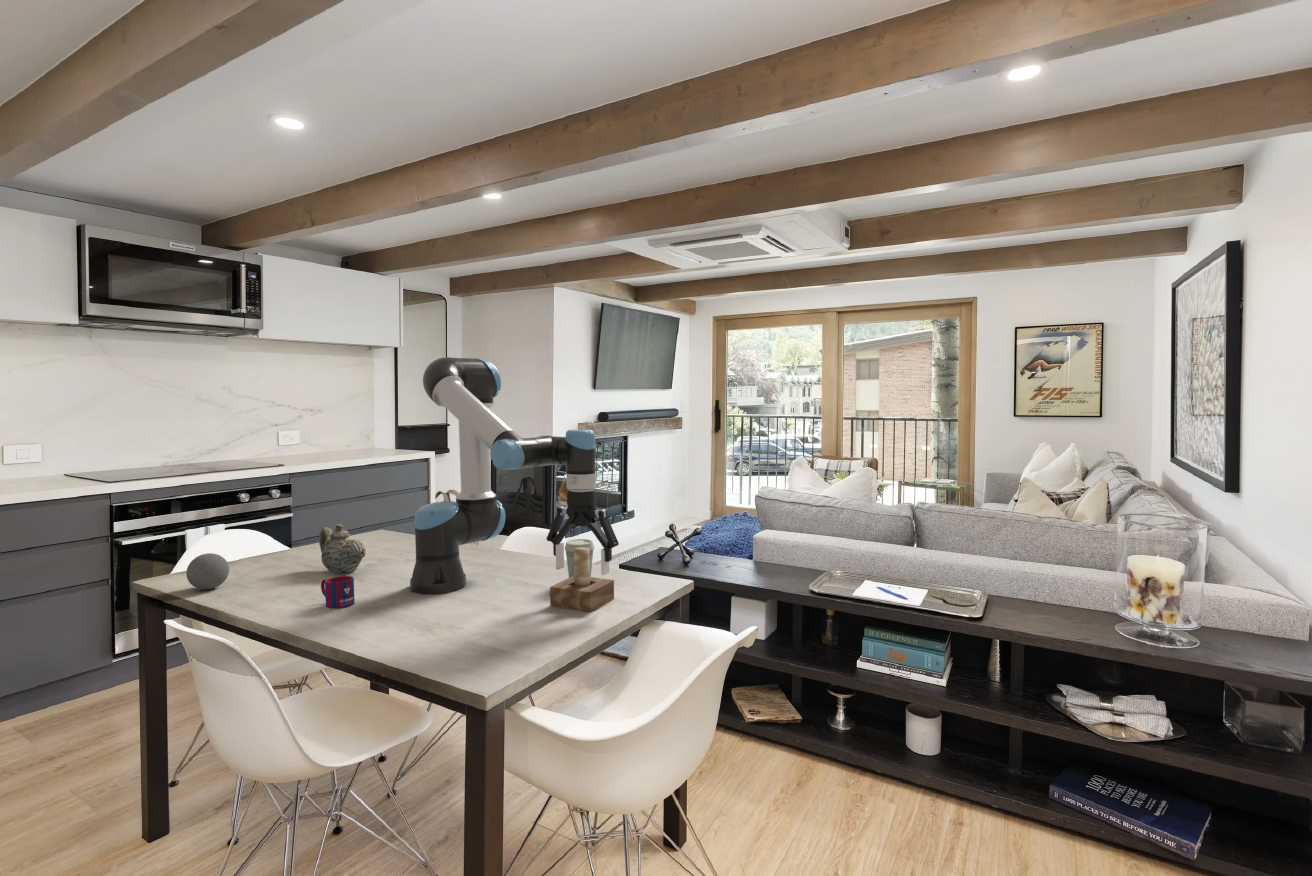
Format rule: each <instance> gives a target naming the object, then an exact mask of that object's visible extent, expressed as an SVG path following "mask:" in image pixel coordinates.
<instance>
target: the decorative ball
mask: <svg viewBox="0 0 1312 876" xmlns="http://www.w3.org/2000/svg"><path fill="white" fill-rule="evenodd" d="M186 568H187V569H186V579H187V581H188V583H189V584H190V585H192V587H194V588H196V589H199V590H203V591H204V590H213V589H215V588H217V587H220V586H221V585H222V584H224V583H225V581H226V580H227V579H228V576H229V573H230V565H229V563H228V561H227V560H226V559H225V558H224V557H223V556H222V555H220V554H217V553H213V552H212V553H211V552H210V553H209V552H208V553H203V554H200V555H198V556H196V557H194V558H193V559H192V560H191V561H190V562H189V564H188V566H187V567H186Z"/></svg>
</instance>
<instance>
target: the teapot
mask: <svg viewBox="0 0 1312 876" xmlns="http://www.w3.org/2000/svg"><path fill="white" fill-rule="evenodd" d="M343 528H344V525H342V524H341V523H337V524H336V525H335V529H334V530H332V529H331V528H330V527H327V526H325V527H322V529H321V531H320V533H319V543H318V544H319V548H320V552H321V556H320V557H321V562H322V564H323V566H324V567H325V568H326V569H327V570H328V571H329V573H330V572H331V573H333V574H336V575H342V574H343V573H344V574H349V573H353V572H355V571H356V570H357V568H358V567H359V566H360V564H361V562H362V560H363V558H364V557H366V554H367V553H366V552H367V550H366V547H365V544H364V542H362V541H361V540H359V539H355V538H354V539H352V538H350V532H349V531H348V530H346V529H343Z"/></svg>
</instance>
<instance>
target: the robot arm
mask: <svg viewBox="0 0 1312 876" xmlns="http://www.w3.org/2000/svg"><path fill="white" fill-rule="evenodd" d="M422 386H423V389H424V391H425V393H426V395H427V396H428V398H430V400H431V401H432V402H434V404H435V405H436V406H438V407H441V408H445V409H446V410H448V412H449V413H451V414H452V416H453V417H455V418H456V419H457V420H458V441H459V442H458V443H459V472H460V492H459V493H458V495H456V496H455V501H453V500H443V501H440V502H439V501H436V502H432V503H428V504H427V503H426V504H424V505H422V506H420V507H419V508H418V509H417V510H416V511H415V514H414V523H413V527H414V533H415V535H414V537H415V540H414V541H415V564H414V567H413V571H412V576H411V578H410V580H409V589H410V591H412V592H413V593H417V594H427V595H429V594H430V595H431V594H443V593H448V592H453V591H454V592H455V591H457V590H461V589H462V588H465V586H466V585H467V575H466V573H465V572H464V569H463V565H462V562H461V559H460V546H463V545H467V544H472V543H477V542H481V541H482V542H484V541H488V540H490V539H493V538H495V537H497V536H499V534H500V533H501V532H502V530H503V528H504V527H505V523H506V510H505V508H504V507H503V504H502V503H501V502H500V500H498V499H497V494H496V493H495V492H494V491H492V486H491V485H492V484H491V483H492V482H491V481H492V480H491V461H492V464H493V465H494V467H495V468H496V469H498V470H501V471H505V470H506V471H507V470H509V471H515V470H521V469H528V468H537V467H543V466H544V467H545V466H563V467H564V466H565V467H566V471H565V473H566V475H565V476H566V489H567V491H566V505H567V507H566V506H564V505H562V506H557V508H556V511H555V516H554V520H553V522H552V524H551V526H550V529H549V530H548V531H549V532H547V533H548V534H547V536H546V541H547V542H551V543H552V545H553V546H552V549H553V553H552V554H553V556H554V557H555V570H556V571H557V570H561V569H563V568H565V542H563V539H564V538H566V535H567V534H568V533H569V531H571V529H572V528H573V527H574V526H576V527H578V526H581V527H587V529H589V530H591V532H592V533H593V535H594V536H595V538H596V539H597V540H598V542H599V543H600V545H601V546H602V549H600V557H601V558H600V562H601V563H600V564H601V565H600V570H601V572H600V573H601V576H605V575H608V574H609V573H610V562H611V561H612V558H613V554H612V553H613V551H612V549H613V548H615V547H618V546H619V541H618V538H617V536H616V533H615V531H614V529H613V526H612V524H611V522H610V520H609V518H608V510H607V509H606V508H603V509H601V510H600V509H599V510H597V508H596V506H597V505H596V504H597V493H596V492H597V491H596V490H595V489H596V487H597V480H596V479H597V478H596V477H597V475H596V474H597V473H596V452H597V451H596V450H597V449H596V448H597V445H596V436H595V432H594V431H593V429H592V430H591V429H569V430H566V432H565V436H552V435H539V436H536V437H521V436H520V435H519V434H518V433H516V432H515V431H514V430H513V429H512V428H511V427H510V426H508V425H507V424H506V423H505V421H503V420H502V419H501V418H500V417H498V416H497V414H495V413H494V412H493V411H492V410H491V409H490V408H492V406H493V405H494V398H496V397H497V396H498V395H499V394H500V391H501V387H502V377H501V375H500V371H499V370H498V368H497V366H495V365H494V363H493V362H491V361H489V360H486V359H481V358H476V357H475V358H467V357H449V356H445V357H440V358H436V359H435V360H433V361H431V362H430V363H429V364H428V365H427V367H426V368H425V370H424V373H423V375H422ZM566 515H567V517H568V519H567V520H566V521H565V523H564V525H563V526H562V523H563V521H564V519H565V516H566ZM596 518H598V520H599V521H597V519H596ZM599 523H600V524H599ZM561 526H562V528H561ZM560 528H561V529H560Z"/></svg>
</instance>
